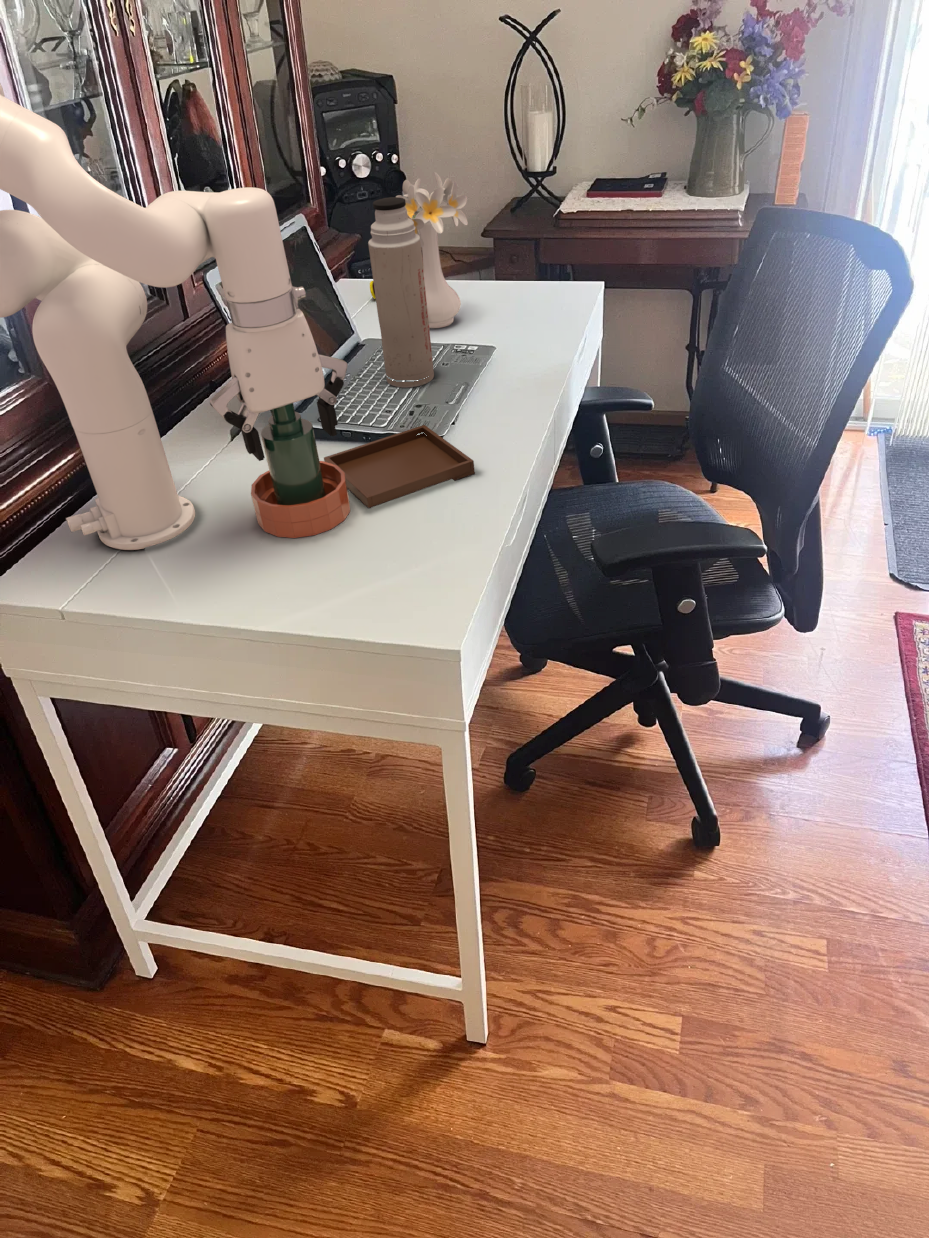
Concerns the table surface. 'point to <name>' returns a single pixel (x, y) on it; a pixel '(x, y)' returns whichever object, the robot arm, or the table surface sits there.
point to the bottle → (292, 457)
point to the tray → (400, 465)
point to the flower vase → (435, 243)
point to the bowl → (302, 506)
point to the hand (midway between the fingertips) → (294, 444)
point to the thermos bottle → (400, 294)
